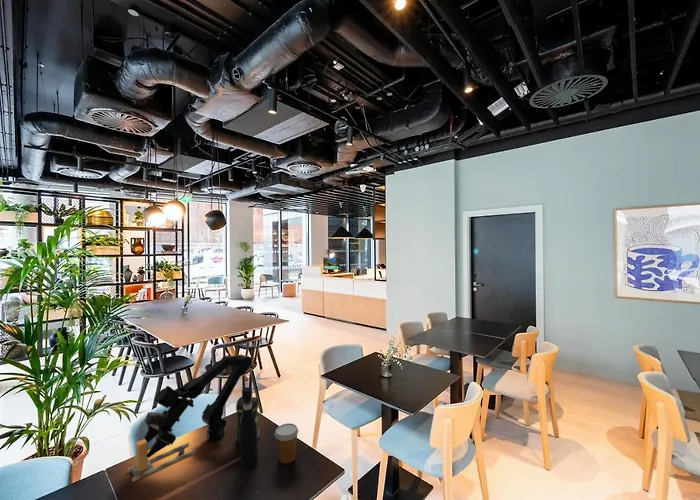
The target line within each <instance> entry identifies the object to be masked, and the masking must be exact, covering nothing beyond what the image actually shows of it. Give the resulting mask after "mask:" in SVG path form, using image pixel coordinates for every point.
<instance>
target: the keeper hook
mask: <svg viewBox="0 0 700 500" xmlns="http://www.w3.org/2000/svg"><path fill="white" fill-rule="evenodd" d="M181 445H182V446H181ZM181 445H179V446H180V447H179V446H178V447H179V448H177V447H176V448H177V450H178V455H179V456H181V455H183V454H185V448H184V446H183V444H181Z"/></svg>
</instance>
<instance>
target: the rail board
mask: <svg viewBox="0 0 700 500" xmlns="http://www.w3.org/2000/svg"><path fill="white" fill-rule="evenodd" d="M182 445H183V446H184V449H185V448H187V447H189V446H190V443H189V441H188V442H186V443H184V444H183V443H182V444H180V445H179V446H177V447H175V448H172V449H170V450H168V451H165V452H163V453H160V454H158V455H156V456H154V457H151V458H148V461H150V463H151V464H152V463H154V462H155V461H158V460H160V459H162V458H165V457H168V456H169V455H171V454H173V453H175V452H179V450H177V448H179V447H180V446H182ZM195 453H196V450H195V448H194V449H192V450H189V451H187V452H184V454H182V455H179V456H176V457H174V458H172V459H170V460H168V461H166V462H164V463H162V464H159V465H157V466H154V467H153V469H150V470H148V471H146V472H144V473H142V474H140V475H137V476H135V477H134V476H133V477H132V478H131V481H132V482H136V481H138V480H140V479H142V478H144V477H146V476H149V475H151V474H153V473H154V472H157V471H159V470H161V469H164V468H166V467H167V466H169V465H173V464H174V463H176V462H178V461H180V460H183V459H185V458H187V457H189V456H191V455H194V454H195ZM136 466H137V464H135V465H134V466H131V467H128V468H127V473H132V471H131V469H132V468H134V467H136Z"/></svg>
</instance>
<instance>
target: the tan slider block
mask: <svg viewBox="0 0 700 500" xmlns="http://www.w3.org/2000/svg"><path fill="white" fill-rule="evenodd" d="M148 452H149V449H148V443H147V441H146V440H145V439H144V438H143V439H141V440H137V441H135V453H136V454H135V456H136V457H135V460H136V463H135V466H136V465H137V466H136V467H134V468H132V469H131V473H132V476H133V477H135V476H137V475H140V474H142V473H144V472H146V471H148V470H150V469H153V468H154V467H153V464H152V462H151V463H150V461H148V460H149V457H147V454H148Z"/></svg>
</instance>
